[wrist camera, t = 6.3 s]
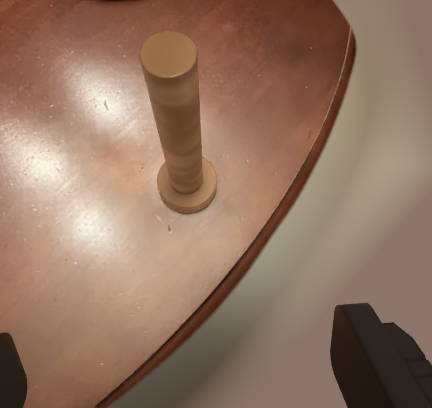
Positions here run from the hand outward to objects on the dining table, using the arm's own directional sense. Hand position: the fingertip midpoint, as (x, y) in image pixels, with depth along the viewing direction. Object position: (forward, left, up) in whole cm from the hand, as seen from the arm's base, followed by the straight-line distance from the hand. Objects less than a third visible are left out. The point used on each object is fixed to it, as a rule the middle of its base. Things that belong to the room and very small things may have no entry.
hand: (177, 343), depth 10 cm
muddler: (0, -11, -18) cm, 21 cm away
